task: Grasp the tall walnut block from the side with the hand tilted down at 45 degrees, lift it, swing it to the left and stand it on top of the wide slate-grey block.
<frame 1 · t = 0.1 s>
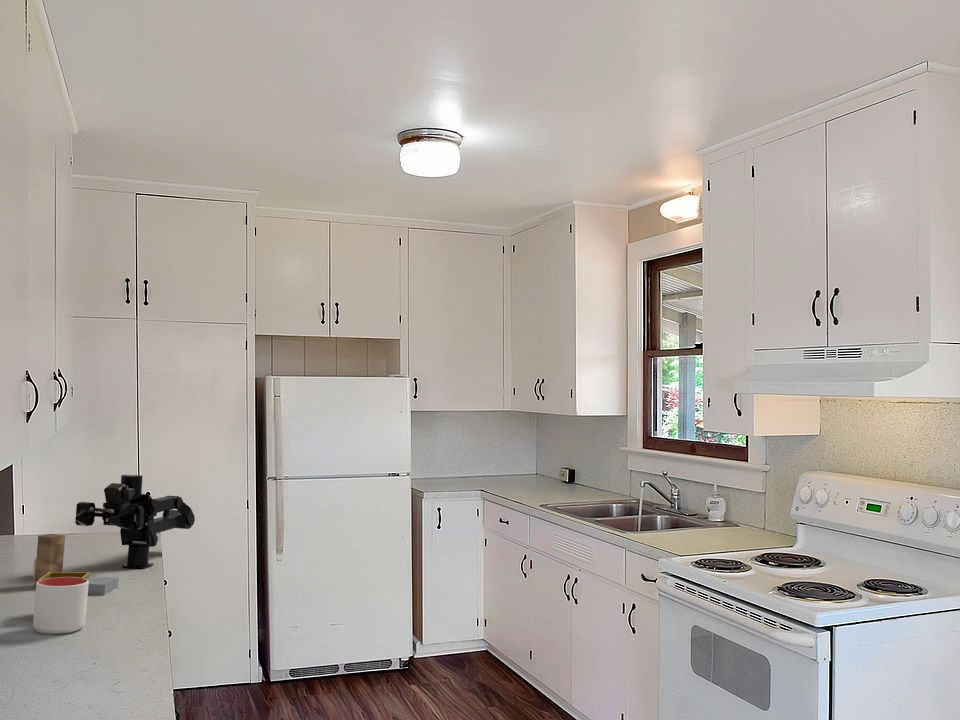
hand: (92, 519, 228), 17 cm above the countertop, tool horizontal, fingers open, 9 cm apart
walnut block: (47, 586, 221), on the countertop
maple cube: (46, 577, 232), on the countertop
flower pot: (61, 617, 193), on the countertop
cup: (58, 630, 182), on the countertop
grey base block: (93, 592, 219), on the countertop
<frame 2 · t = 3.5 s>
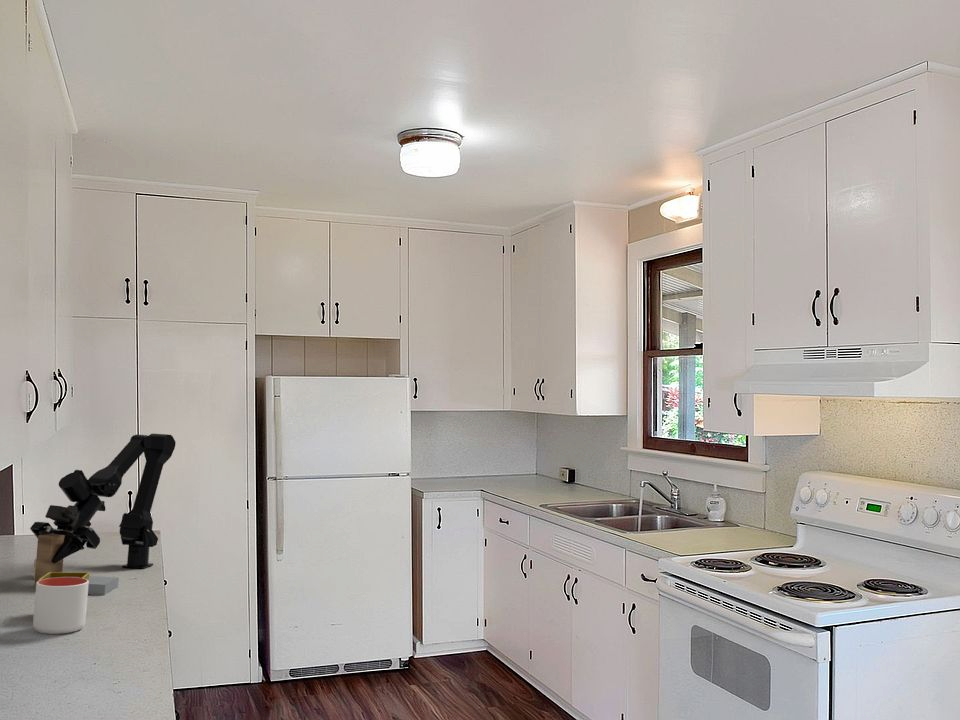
hand: (45, 561, 220), 7 cm above the countertop, tool tilted 45°, fingers closed on walnut block, 4 cm apart
walnut block: (47, 586, 221), on the countertop, touching gripper
everything else where it was.
when the fingers open (10 cm above the countertop, at t = 6.5 s): walnut block drops 1 cm, point 3 cm above the countertop.
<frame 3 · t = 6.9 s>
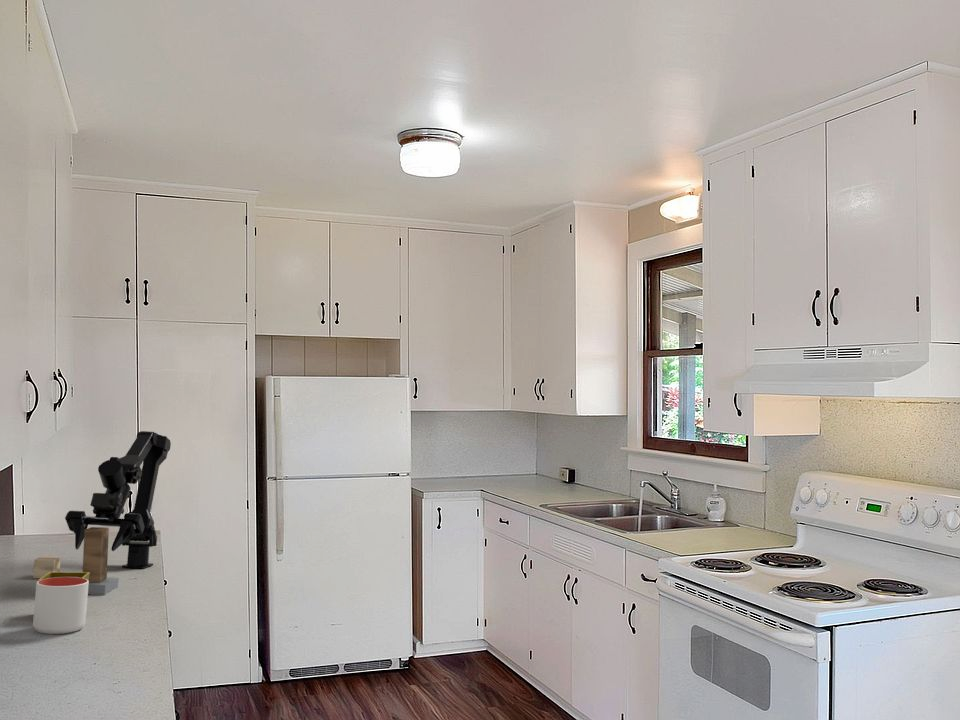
hand: (94, 549, 219), 11 cm above the countertop, tool tilted 45°, fingers open, 9 cm apart
walnut block: (94, 580, 220), point 3 cm above the countertop
everything else where it was.
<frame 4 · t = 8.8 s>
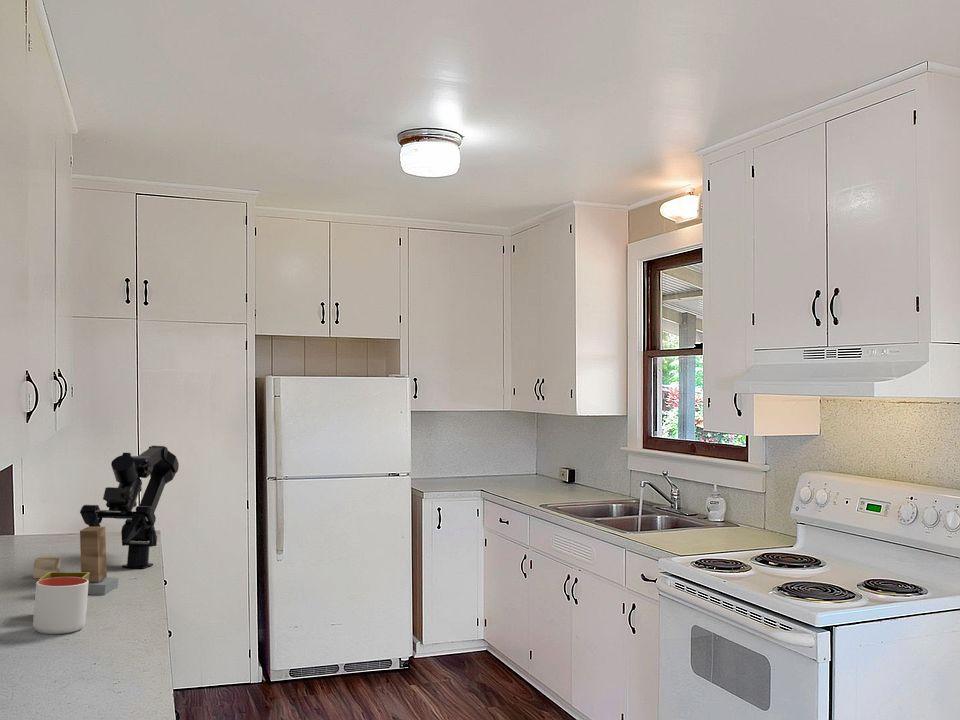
hand: (108, 541, 228), 11 cm above the countertop, tool tilted 45°, fingers open, 9 cm apart
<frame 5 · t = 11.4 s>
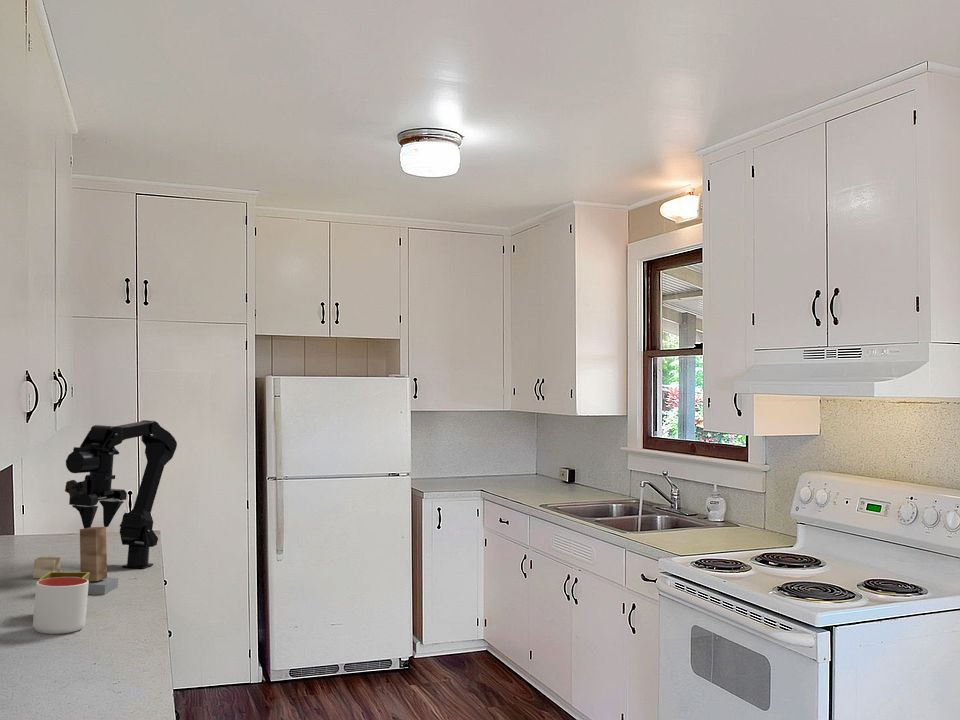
hand: (96, 528, 236), 13 cm above the countertop, tool pointing down, fingers open, 9 cm apart
at the end: walnut block inside the target area on the grey base block (0.4 cm from its centre), point 3.3 cm above the grey base block's base; walnut block tilted 7°; the gripper is holding nothing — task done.
